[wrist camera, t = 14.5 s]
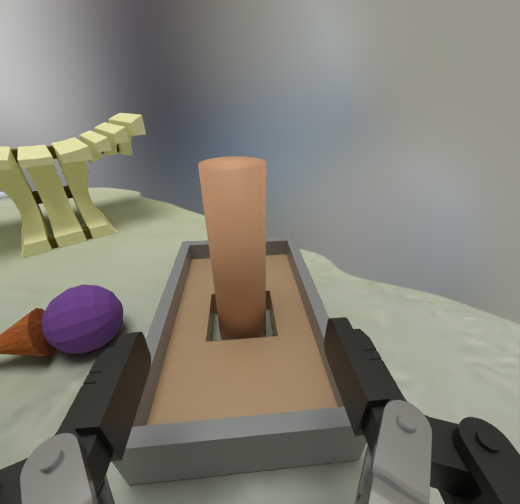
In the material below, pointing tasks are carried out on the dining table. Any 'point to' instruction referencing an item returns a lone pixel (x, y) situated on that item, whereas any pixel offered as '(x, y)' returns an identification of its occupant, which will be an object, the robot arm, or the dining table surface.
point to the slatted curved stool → (50, 187)
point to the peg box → (237, 381)
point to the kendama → (66, 324)
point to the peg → (237, 242)
